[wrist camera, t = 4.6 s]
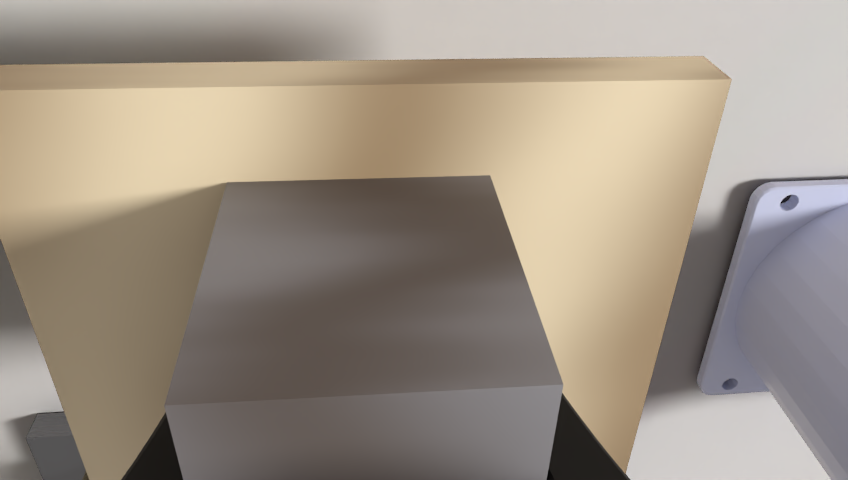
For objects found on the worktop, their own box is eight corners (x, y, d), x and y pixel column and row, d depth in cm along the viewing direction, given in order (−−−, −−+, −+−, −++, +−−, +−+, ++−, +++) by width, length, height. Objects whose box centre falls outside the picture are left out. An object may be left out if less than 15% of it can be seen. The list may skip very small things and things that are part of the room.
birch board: (703, 56, 11) (942, 252, 7) (610, 439, 16) (712, 700, 12) (-24, 64, 10) (-307, 300, 6) (113, 469, 15) (16, 765, 11)
